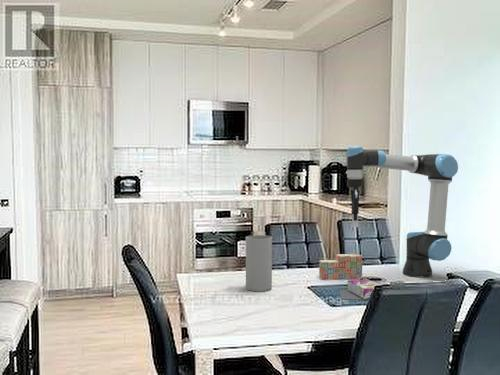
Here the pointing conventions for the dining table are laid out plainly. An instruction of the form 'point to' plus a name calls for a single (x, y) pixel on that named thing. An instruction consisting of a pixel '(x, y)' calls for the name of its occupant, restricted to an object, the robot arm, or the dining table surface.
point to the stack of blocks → (341, 267)
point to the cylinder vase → (258, 263)
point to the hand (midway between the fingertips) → (355, 227)
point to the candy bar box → (361, 287)
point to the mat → (349, 295)
